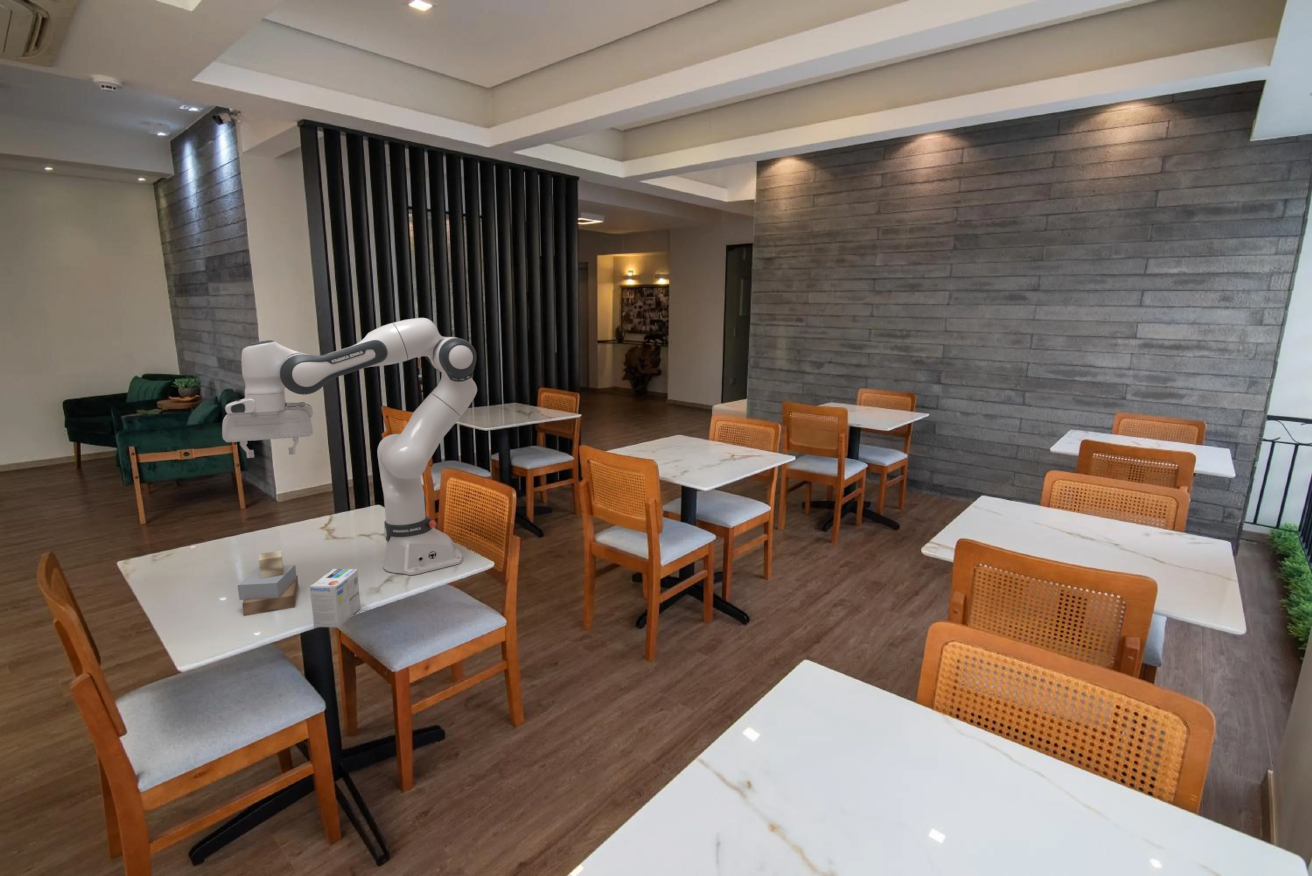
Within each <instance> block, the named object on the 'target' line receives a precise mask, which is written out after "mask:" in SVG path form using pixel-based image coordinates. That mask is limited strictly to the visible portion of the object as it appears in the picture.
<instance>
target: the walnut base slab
mask: <svg viewBox="0 0 1312 876" xmlns="http://www.w3.org/2000/svg"><path fill="white" fill-rule="evenodd" d="M296 578H297V579H296V580H295V581H294V582H293V583H292V584H291V585H290V586H289V587H288V588H287V589H286V590H285V591H284V592H283V594H282V595H281V596H280V597H279V598H266V599H249V600H242V603H241V604H242V613H243V617H247V616H252V615H257V614H264V613H270V612H277V611H282V610H283V611H284V610H289V609H295V608H296V603H297V602H296V601H297V597H298V592H299V578H298V575H296Z"/></svg>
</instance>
